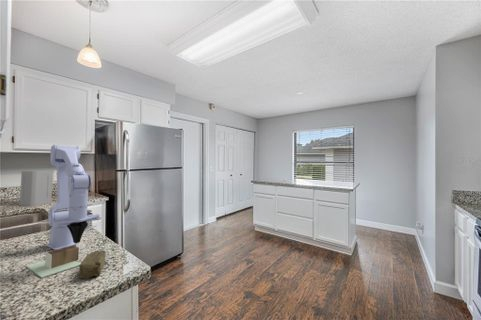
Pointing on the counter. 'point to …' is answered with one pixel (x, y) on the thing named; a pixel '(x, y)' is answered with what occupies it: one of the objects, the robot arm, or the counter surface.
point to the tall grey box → (36, 188)
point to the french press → (89, 214)
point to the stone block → (92, 264)
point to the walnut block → (61, 256)
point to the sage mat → (44, 271)
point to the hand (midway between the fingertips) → (76, 242)
